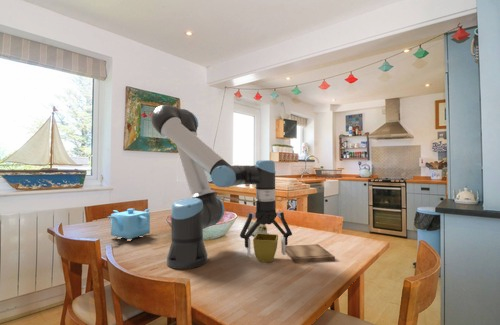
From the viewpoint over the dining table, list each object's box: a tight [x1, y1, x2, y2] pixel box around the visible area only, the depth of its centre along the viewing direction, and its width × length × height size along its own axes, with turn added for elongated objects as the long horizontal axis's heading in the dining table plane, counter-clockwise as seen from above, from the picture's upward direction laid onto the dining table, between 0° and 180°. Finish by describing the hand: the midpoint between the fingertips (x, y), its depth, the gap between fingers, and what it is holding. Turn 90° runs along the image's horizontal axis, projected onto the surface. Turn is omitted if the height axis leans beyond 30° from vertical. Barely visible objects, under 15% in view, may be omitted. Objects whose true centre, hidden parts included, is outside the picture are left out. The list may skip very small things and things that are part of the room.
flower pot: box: [252, 233, 279, 263], centre depth 103 cm, size 9×9×9 cm
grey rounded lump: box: [247, 220, 268, 237], centre depth 140 cm, size 10×10×10 cm
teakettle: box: [107, 208, 151, 239], centre depth 135 cm, size 19×19×15 cm
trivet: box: [285, 243, 336, 264], centre depth 109 cm, size 16×16×2 cm
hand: (266, 254), depth 103 cm, fingers open, 13 cm apart
